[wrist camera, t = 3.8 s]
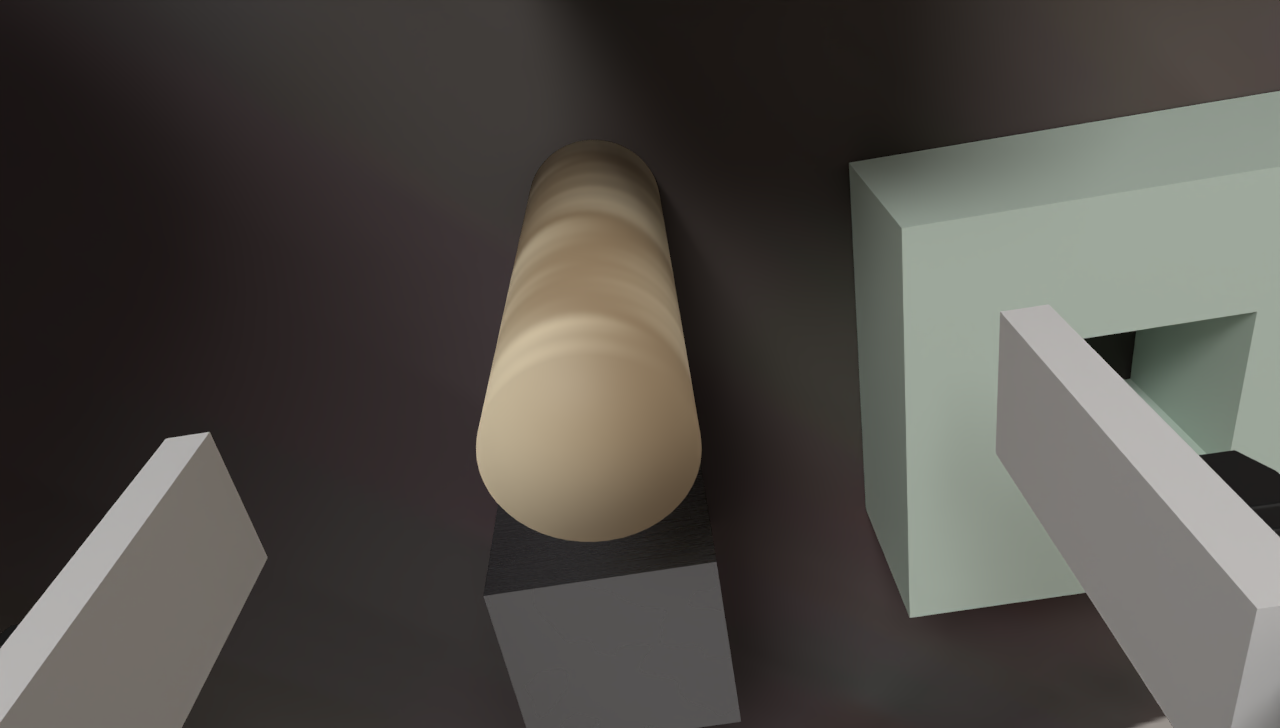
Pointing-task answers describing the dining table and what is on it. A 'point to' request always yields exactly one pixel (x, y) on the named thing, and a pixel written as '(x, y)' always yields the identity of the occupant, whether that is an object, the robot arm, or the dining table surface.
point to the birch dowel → (590, 358)
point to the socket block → (1080, 293)
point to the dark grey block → (614, 624)
